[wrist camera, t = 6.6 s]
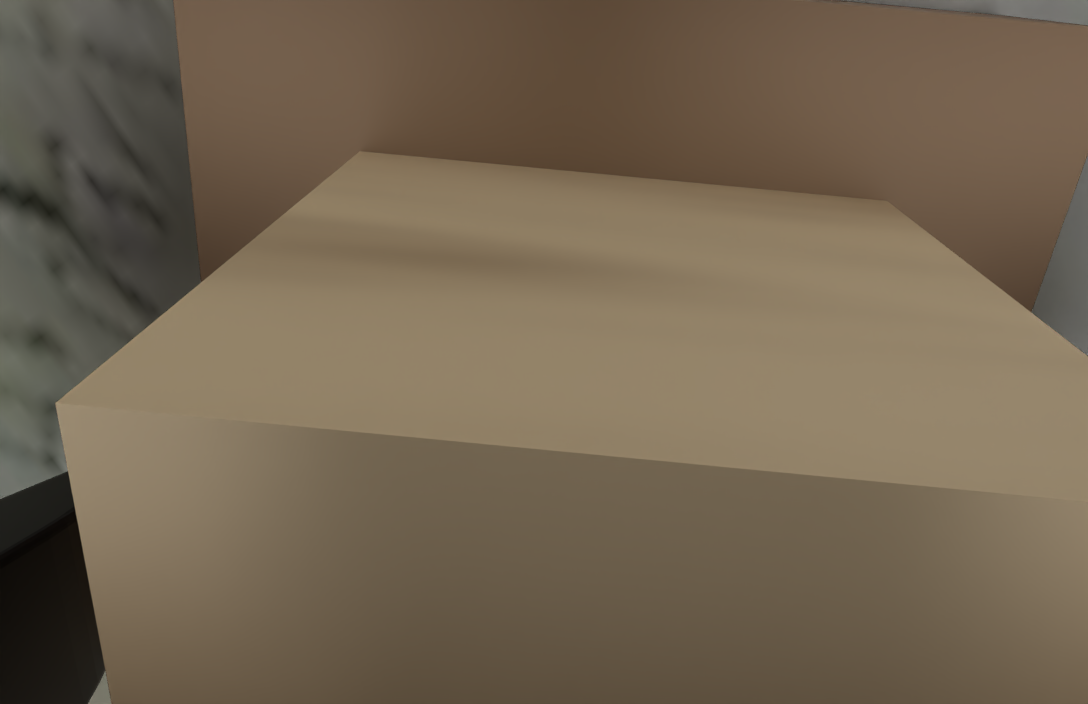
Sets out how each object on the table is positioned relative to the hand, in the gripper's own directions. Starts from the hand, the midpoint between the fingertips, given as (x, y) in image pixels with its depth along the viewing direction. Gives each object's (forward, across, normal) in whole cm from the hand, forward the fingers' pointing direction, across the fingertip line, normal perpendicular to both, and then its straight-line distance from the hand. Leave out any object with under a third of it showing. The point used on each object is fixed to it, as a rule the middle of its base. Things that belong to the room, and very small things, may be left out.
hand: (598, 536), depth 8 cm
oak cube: (+3, 0, 0) cm, 3 cm away
